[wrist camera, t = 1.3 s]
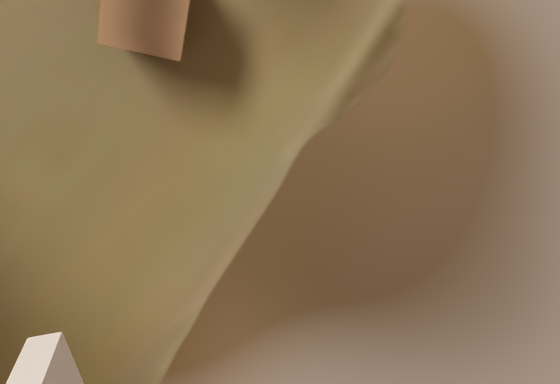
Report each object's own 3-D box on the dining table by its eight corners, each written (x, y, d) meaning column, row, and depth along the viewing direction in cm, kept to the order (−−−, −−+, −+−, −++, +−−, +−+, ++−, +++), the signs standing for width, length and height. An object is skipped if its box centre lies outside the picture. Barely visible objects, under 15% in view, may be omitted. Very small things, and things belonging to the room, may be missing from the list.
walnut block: (111, 32, 33) (96, 43, 28) (118, -46, 31) (104, -47, 26) (183, 48, 34) (180, 61, 29) (195, -26, 32) (193, -24, 27)
